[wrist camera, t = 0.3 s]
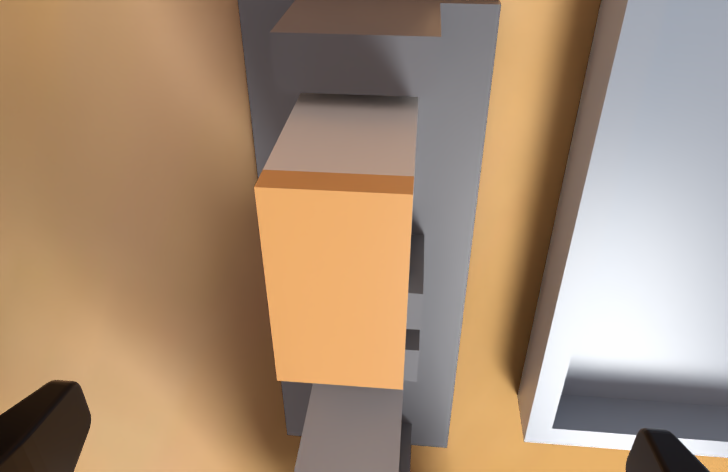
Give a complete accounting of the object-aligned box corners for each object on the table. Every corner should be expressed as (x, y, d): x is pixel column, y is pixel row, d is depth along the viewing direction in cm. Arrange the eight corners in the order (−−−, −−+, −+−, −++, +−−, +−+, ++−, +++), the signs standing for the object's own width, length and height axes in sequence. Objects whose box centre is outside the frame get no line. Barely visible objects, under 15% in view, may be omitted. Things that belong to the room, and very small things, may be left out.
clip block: (446, 439, 30) (448, 514, 27) (289, 427, 31) (272, 498, 27) (499, 0, 18) (514, 38, 15) (241, -6, 19) (201, 30, 16)
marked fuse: (411, 225, 23) (402, 389, 16) (321, 220, 23) (277, 380, 16) (420, 68, 19) (413, 194, 13) (314, 64, 19) (253, 186, 13)
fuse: (401, 417, 29) (392, 593, 22) (331, 412, 29) (301, 584, 22) (406, 324, 25) (396, 498, 19) (326, 319, 26) (290, 489, 19)
